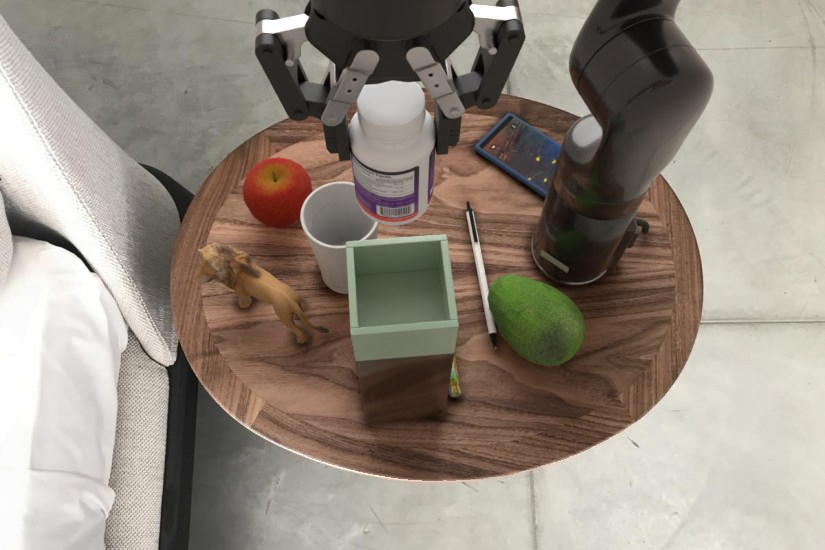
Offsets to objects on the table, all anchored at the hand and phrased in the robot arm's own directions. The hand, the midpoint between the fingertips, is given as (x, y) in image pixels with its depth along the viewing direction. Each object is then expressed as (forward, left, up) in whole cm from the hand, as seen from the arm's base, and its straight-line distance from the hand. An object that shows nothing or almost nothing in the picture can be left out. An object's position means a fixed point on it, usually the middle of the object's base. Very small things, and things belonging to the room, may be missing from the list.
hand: (393, 145), depth 45 cm
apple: (+12, -20, -38) cm, 44 cm away
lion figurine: (+14, -7, -38) cm, 41 cm away
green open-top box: (0, +3, -37) cm, 37 cm away
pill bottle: (0, 0, -6) cm, 6 cm away
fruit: (-18, +3, -32) cm, 37 cm away
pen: (-10, -10, -37) cm, 40 cm away
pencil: (-5, -4, -37) cm, 38 cm away
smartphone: (-14, -30, -37) cm, 50 cm away
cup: (+5, -11, -38) cm, 40 cm away
